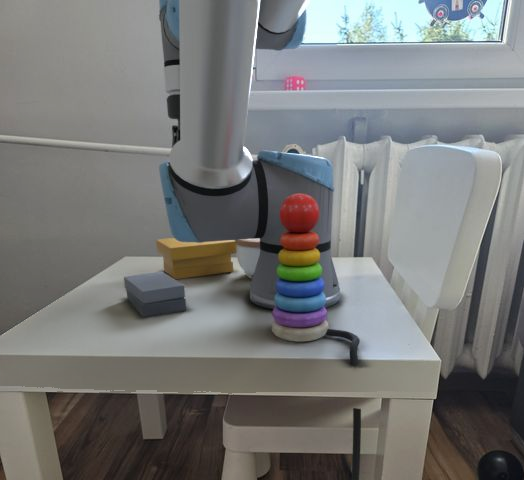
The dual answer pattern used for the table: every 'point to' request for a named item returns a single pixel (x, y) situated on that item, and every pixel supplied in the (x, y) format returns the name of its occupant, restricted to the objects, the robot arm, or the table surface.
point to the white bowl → (248, 254)
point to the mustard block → (194, 248)
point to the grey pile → (155, 294)
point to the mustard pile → (198, 266)
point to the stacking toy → (299, 274)
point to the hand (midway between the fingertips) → (195, 214)
